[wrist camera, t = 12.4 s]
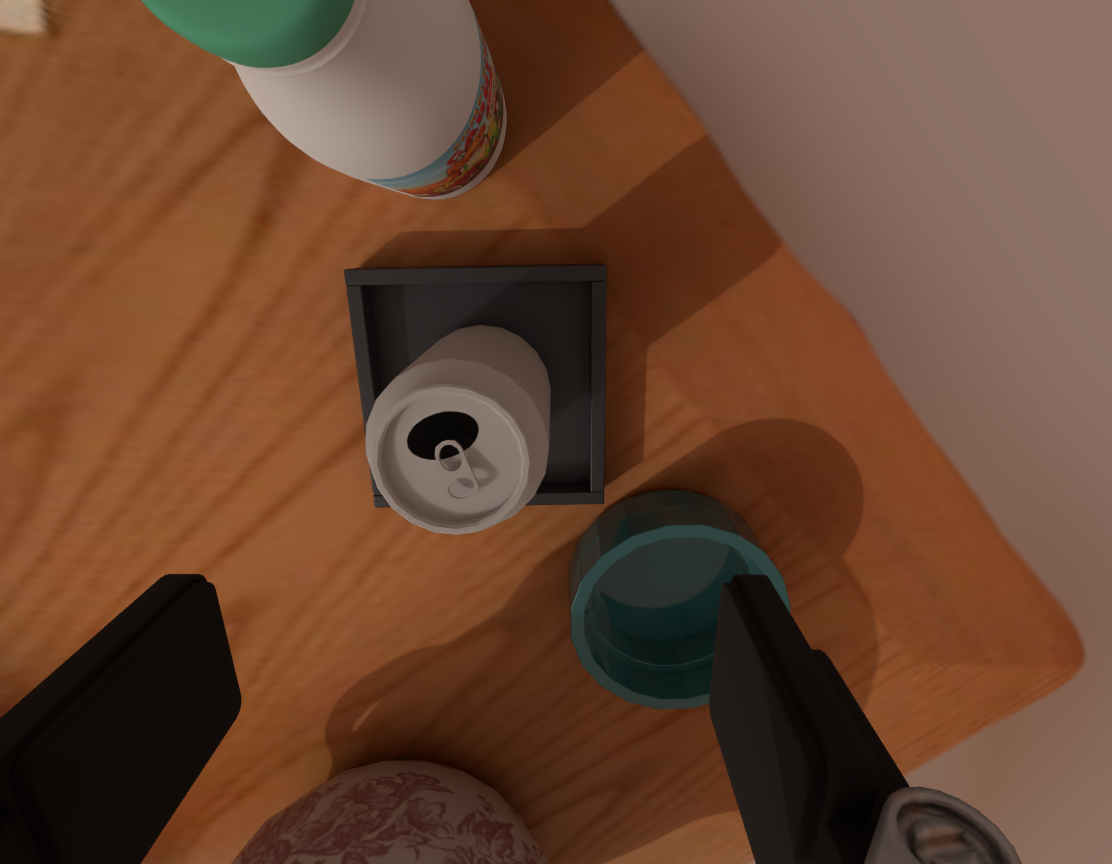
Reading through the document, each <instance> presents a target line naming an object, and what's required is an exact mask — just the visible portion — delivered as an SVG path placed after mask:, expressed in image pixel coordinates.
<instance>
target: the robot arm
mask: <svg viewBox="0 0 1112 864" xmlns="http://www.w3.org/2000/svg"><path fill="white" fill-rule="evenodd" d="M240 707H241V693H240V689H239V685H238V681H237V676H236V672H235V668H234V664H233V660H232V655H231V651H230V647H229V643H228V639H227V635H226V630H225V626H224V622H223V618H222V614H221V610H220V605H219V601H218V597H217V593H216V589H215V587H214V585H213V584H212V583H210V582H207V580H206V578H205V577H204V576H203V575H200V574H168V575H165V576H163V577H161V578H160V579H159V580H158V581H157V582H155V583H154V584H153V585H152V586H151V587H150V588H149V589H147V590H146V591H145V592H144V593H143V594H142V595H141V596H139V597H138V598H137V599H136V600H135V601H134V602H133V603H131V604H130V605H129V606H128V607H127V608H126V609H125V610H123V611H122V612H121V613H120V614H119V615H118V616H117V617H115V618H114V619H113V620H112V621H111V622H110V623H109V624H107V625H106V626H105V627H104V628H103V629H102V630H101V631H100V632H98V633H97V634H96V635H95V636H94V637H93V638H92V639H90V640H89V641H88V642H87V643H86V644H85V645H84V646H82V647H81V648H80V649H79V650H78V651H77V652H76V653H74V654H73V655H72V656H71V657H70V658H69V659H68V660H66V661H65V662H64V663H63V664H62V665H61V666H60V667H58V668H57V669H56V670H55V671H54V672H53V673H52V674H50V675H49V676H48V677H47V678H46V679H45V680H44V681H42V682H41V683H40V684H39V685H38V686H37V687H36V688H34V689H33V690H32V691H31V692H30V693H29V694H28V695H27V696H25V697H24V698H23V699H22V700H21V701H20V702H19V703H17V704H16V705H15V706H14V707H13V708H12V709H11V710H9V711H8V712H7V713H6V714H5V715H4V716H3V717H1V718H0V864H141V862H142V861H143V859H144V858H145V856H146V855H147V853H148V852H149V850H150V849H151V847H152V846H153V844H154V842H155V841H156V839H157V838H158V836H159V835H160V833H161V832H162V830H163V829H164V827H165V826H166V824H167V823H168V821H169V820H170V818H171V817H172V815H173V814H174V812H175V811H176V809H177V808H178V806H179V805H180V803H181V802H182V800H183V799H184V797H185V795H186V794H187V792H188V791H189V789H190V788H191V786H192V785H193V783H194V782H195V780H196V779H197V777H198V776H199V774H200V773H201V771H202V770H203V768H204V767H205V765H206V764H207V762H208V761H209V759H210V758H211V756H212V755H213V753H214V752H215V750H216V749H217V747H218V745H219V744H220V742H221V741H222V739H223V738H224V736H225V735H226V733H227V732H228V730H229V729H230V727H231V726H232V724H233V723H234V721H235V720H236V718H237V716H238V714H239V711H240ZM709 707H710V714H711V719H712V723H713V726H714V729H715V732H716V736H717V739H718V742H719V745H720V749H721V752H722V755H723V758H724V762H725V765H726V768H727V771H728V775H729V778H730V781H731V784H732V788H733V791H734V794H735V797H736V801H737V804H738V807H739V810H740V814H741V817H742V820H743V823H744V827H745V830H746V833H747V836H748V840H749V843H750V846H751V849H752V853H753V856H754V859H755V862H756V864H1022V862H1021V860H1020V858H1019V856H1018V854H1017V852H1016V850H1015V848H1014V846H1013V845H1012V844H1011V842H1010V841H1009V840H1008V839H1007V838H1006V836H1005V835H1004V834H1003V833H1002V831H1001V830H1000V829H999V828H998V827H997V826H996V825H995V824H993V822H991V821H990V820H989V819H988V818H987V817H986V816H984V815H983V814H982V813H981V812H980V811H978V810H977V809H975V808H973V807H972V806H970V805H969V804H967V803H965V802H964V801H962V800H960V799H959V798H956V797H953V796H951V795H949V794H946V793H944V792H942V791H939V790H935V789H929V788H924V787H910V786H909V785H908V783H907V782H906V780H905V778H904V777H903V775H902V774H901V772H900V770H899V769H898V767H897V766H896V764H895V762H894V761H893V759H892V758H891V756H890V754H889V753H888V751H887V750H886V748H885V746H884V745H883V743H882V742H881V740H880V738H879V737H878V735H877V734H876V732H875V730H874V729H873V727H872V726H871V724H870V722H869V721H868V719H867V718H866V716H865V714H864V713H863V711H862V710H861V708H860V706H859V705H858V703H857V702H856V700H855V698H854V697H853V695H852V694H851V692H850V690H849V689H848V687H847V686H846V684H845V682H844V681H843V679H842V678H841V676H840V674H839V673H838V671H837V670H836V668H835V666H834V665H833V663H832V662H831V660H830V659H829V657H828V656H827V655H826V654H825V653H824V652H823V651H821V650H812V649H811V648H810V646H809V644H808V643H807V641H806V639H805V638H804V636H803V634H802V632H801V631H800V629H799V627H798V626H797V624H796V622H795V621H794V619H793V617H792V616H791V614H790V612H789V611H788V609H787V607H786V606H785V604H784V602H783V601H782V599H781V597H780V596H779V594H778V592H777V591H776V589H775V587H774V585H773V584H772V582H771V580H770V579H769V577H768V576H767V575H764V574H735V575H734V576H733V577H732V580H731V583H723V584H722V587H721V595H720V604H719V613H718V622H717V631H716V640H715V649H714V659H713V668H712V677H711V686H710V695H709Z"/></svg>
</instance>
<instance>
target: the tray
mask: <svg viewBox="0 0 1112 864" xmlns="http://www.w3.org/2000/svg"><path fill="white" fill-rule="evenodd" d="M344 274H345V282H346V285H348V286H347V287H346V288H347V296H348V303H349V311H350V319H351V327H352V334H353V342H354V350H355V358H356V365H357V373H358V381H359V388H360V396H361V404H362V412H363V419H364V427H365V435H366V424H367V422H368V419H369V416H370V414H371V411H372V409H373V406H374V404H375V401H376V399H377V398H378V397H379V395H380V394H381V393H382V392H383V391H384V390H385V389H386V387H387V386H388V385H389V384H390V383H391V382H392V381H393V380H394V378H395V377H397V376H398V375H399V374H400V373H401V372H402V371H404V370H405V369H406V368H407V367H408V366H410V365H411V364H412V363H413V362H414V361H415V360H417V359H418V358H419V357H420V356H421V355H422V354H424V353H425V352H426V351H427V350H428V349H429V348H431V347H432V346H433V345H434V344H435V343H436V342H438V341H439V340H440V339H441V338H443V337H445V336H447V335H449V334H450V333H452V332H454V331H456V330H457V329H460V328H465V327H471V326H476V325H485V326H493V327H500V328H503V329H505V330H507V331H509V332H512V333H514V334H516V335H518V336H520V337H522V338H523V339H524V340H525V341H526V342H527V343H528V344H529V345H530V346H531V347H532V348H533V349H534V350H536V351H537V353H538V355H539V357H540V358H541V360H542V362H543V364H544V366H545V367H546V369H547V373H548V378H549V383H550V388H551V400H550V431H549V451H548V458H547V466H546V473H545V475H544V477H543V479H542V481H541V483H540V485H539V487H538V489H537V491H536V493H535V495H534V497H533V498H532V499H531V500H530V501H529V502H528V503H527V504H526V505H567V504H604V466H605V377H606V288H607V282H606V280H607V265H605V264H549V265H491V266H433V267H375V268H353V269H346V270H344ZM369 466H370V464H369ZM370 474H371V481H372V489H373V495H374V504H375V507H391V506H390V505H389V503H388V502H387V501H386V499H385V498H384V496H383V495H382V494H381V492H380V491H379V489H378V488H377V485H376V482H375V479H374V477H373V474H372V471H371V468H370Z"/></svg>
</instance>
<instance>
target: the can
mask: <svg viewBox="0 0 1112 864" xmlns="http://www.w3.org/2000/svg"><path fill="white" fill-rule="evenodd" d="M550 400H551V388H550V383H549V378H548V373H547V369H546V367H545V366H544V364H543V362H542V360H541V358H540V357H539V355H538V353H537V351H536V350H534V349H533V348H532V347H531V346H530V345H529V344H528V343H527V342H526V341H525V340H524V339H523V338H522V337H520V336H518V335H516V334H514V333H512V332H509V331H507V330H505V329H503V328H500V327H493V326H485V325H476V326H471V327H465V328H460V329H457V330H456V331H454V332H452V333H450V334H449V335H447V336H445V337H443V338H441V339H440V340H439V341H438V342H436V343H435V344H434V345H433V346H432V347H431V348H429V349H428V350H427V351H426V352H425V353H424V354H422V355H421V356H420V357H419V358H418V359H417V360H415V361H414V362H413V363H412V364H411V365H410V366H408V367H407V368H406V369H405V370H404V371H402V372H401V373H400V374H399V375H398V376H397V377H395V378H394V380H393V381H392V382H391V383H390V384H389V385H388V386H387V387H386V389H385V390H384V391H383V392H382V393H381V394H380V395H379V397H378V398H377V399H376V401H375V404H374V406H373V409H372V411H371V414H370V416H369V419H368V422H367V424H366V455H367V458H368V461H369V464H370V468H371V471H372V474H373V477H374V479H375V482H376V485H377V488H378V489H379V491H380V492H381V494H382V495H383V496H384V498H385V499H386V501H387V502H388V503H389V505H390V506H391V508H393V509H394V510H395V511H396V512H398V513H399V514H400V515H402V516H403V517H404V518H405V519H407V520H408V521H409V522H410V523H413V524H415V525H418V526H420V527H423V528H425V529H427V530H430V531H432V532H438V533H447V534H455V535H459V534H465V533H471V532H477V531H482V530H484V529H486V528H488V527H492V526H494V525H496V524H498V523H500V522H502V521H504V520H506V519H508V518H510V517H512V516H514V515H515V514H517V513H518V512H519V511H520V510H521V509H522V508H523V507H524V506H525V505H526V504H527V503H528V502H529V501H530V500H531V499H532V498H533V497H534V495H535V493H536V491H537V489H538V487H539V485H540V483H541V481H542V479H543V477H544V475H545V473H546V466H547V458H548V451H549V431H550Z"/></svg>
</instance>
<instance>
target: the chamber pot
mask: <svg viewBox="0 0 1112 864" xmlns="http://www.w3.org/2000/svg"><path fill="white" fill-rule="evenodd" d="M231 864H549V862H548V860H547V858H546V856H545V854H544V853H543V851H542V850H541V848H540V846H539V845H538V843H537V841H536V840H535V838H534V837H533V835H532V833H531V832H530V830H529V828H528V827H527V825H526V823H525V822H524V820H523V819H522V817H521V815H520V814H519V813H518V812H517V811H516V810H515V809H514V808H513V807H512V806H511V805H510V804H509V803H508V802H507V801H506V800H505V799H504V798H503V797H502V796H501V795H500V794H499V793H498V792H497V791H496V790H495V789H494V788H492V787H491V786H489V785H487V784H486V783H484V782H482V781H480V780H478V779H477V778H475V777H473V776H471V775H470V774H468V773H466V772H464V771H462V770H460V769H456V768H453V767H449V766H445V765H441V764H437V763H433V762H430V761H426V760H386V761H382V762H377V763H373V764H369V765H365V766H360V767H356V768H352V769H349V770H345V771H343V772H341V773H340V774H338V775H336V776H334V777H333V778H331V779H329V780H327V781H326V782H324V783H322V784H320V785H319V786H317V787H315V788H314V789H312V790H311V791H309V792H308V793H306V794H305V795H303V796H302V797H300V798H299V799H297V800H296V801H294V802H293V803H291V804H290V805H288V806H287V807H286V808H284V809H283V810H281V811H280V812H278V813H277V814H275V815H274V816H272V817H271V818H269V819H268V820H266V821H265V822H264V823H263V825H262V826H261V827H260V828H259V829H258V831H257V832H256V833H255V834H254V836H253V837H252V838H251V839H250V840H249V842H248V843H247V844H246V845H245V846H244V848H243V849H242V850H241V851H240V853H239V854H238V855H237V856H236V858H235V859H234V860H233V862H232V863H231Z"/></svg>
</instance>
